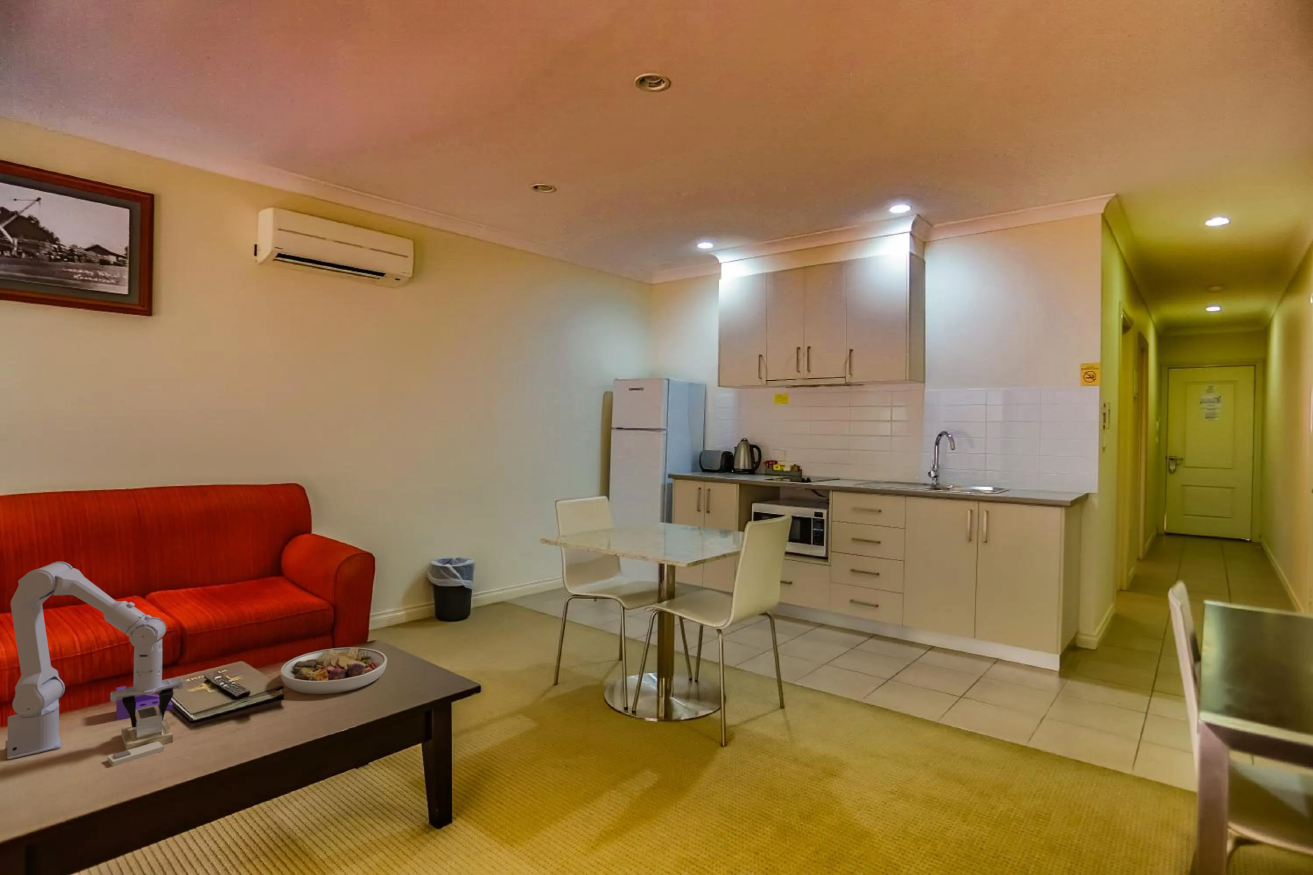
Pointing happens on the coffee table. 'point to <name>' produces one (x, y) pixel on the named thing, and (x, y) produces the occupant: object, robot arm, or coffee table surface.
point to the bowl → (333, 670)
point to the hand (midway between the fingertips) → (147, 722)
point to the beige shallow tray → (133, 743)
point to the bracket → (138, 704)
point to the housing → (148, 722)
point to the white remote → (135, 753)
